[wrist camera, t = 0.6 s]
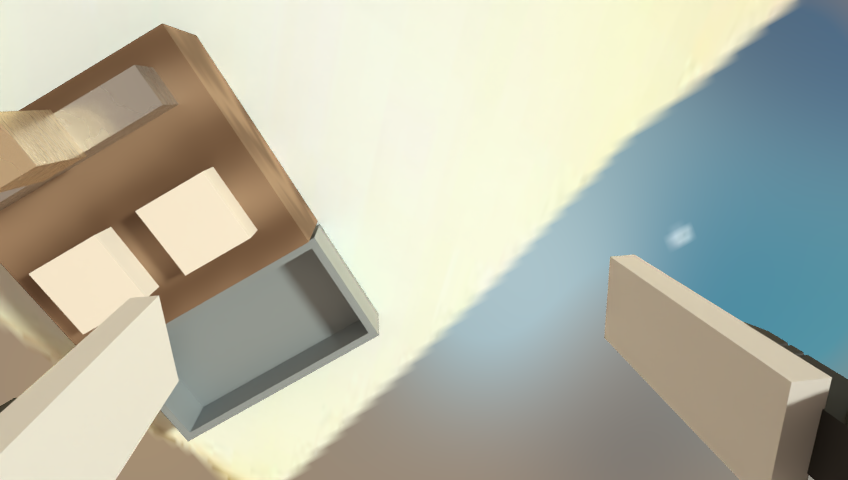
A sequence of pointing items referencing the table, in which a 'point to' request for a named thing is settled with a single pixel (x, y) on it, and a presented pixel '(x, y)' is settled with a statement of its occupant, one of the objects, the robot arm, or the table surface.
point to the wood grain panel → (158, 181)
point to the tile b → (197, 221)
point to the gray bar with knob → (75, 130)
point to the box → (265, 335)
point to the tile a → (94, 279)
